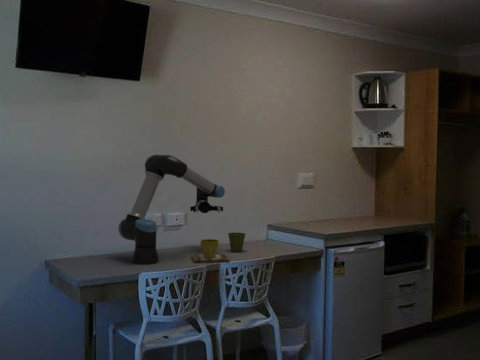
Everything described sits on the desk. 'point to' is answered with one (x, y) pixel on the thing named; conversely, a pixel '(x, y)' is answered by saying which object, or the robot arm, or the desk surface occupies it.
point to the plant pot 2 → (236, 241)
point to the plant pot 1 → (209, 247)
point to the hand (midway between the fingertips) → (208, 210)
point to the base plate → (209, 259)
